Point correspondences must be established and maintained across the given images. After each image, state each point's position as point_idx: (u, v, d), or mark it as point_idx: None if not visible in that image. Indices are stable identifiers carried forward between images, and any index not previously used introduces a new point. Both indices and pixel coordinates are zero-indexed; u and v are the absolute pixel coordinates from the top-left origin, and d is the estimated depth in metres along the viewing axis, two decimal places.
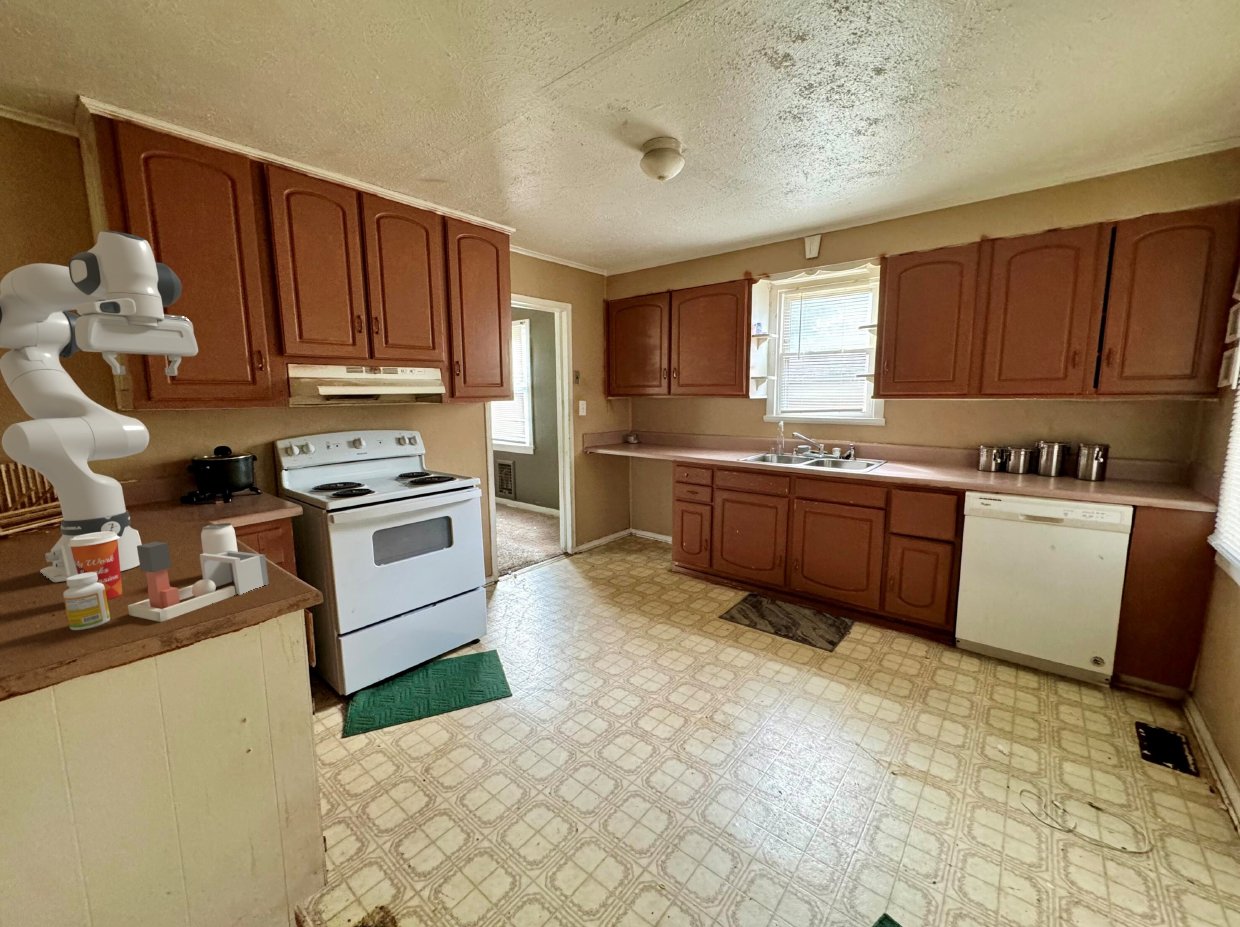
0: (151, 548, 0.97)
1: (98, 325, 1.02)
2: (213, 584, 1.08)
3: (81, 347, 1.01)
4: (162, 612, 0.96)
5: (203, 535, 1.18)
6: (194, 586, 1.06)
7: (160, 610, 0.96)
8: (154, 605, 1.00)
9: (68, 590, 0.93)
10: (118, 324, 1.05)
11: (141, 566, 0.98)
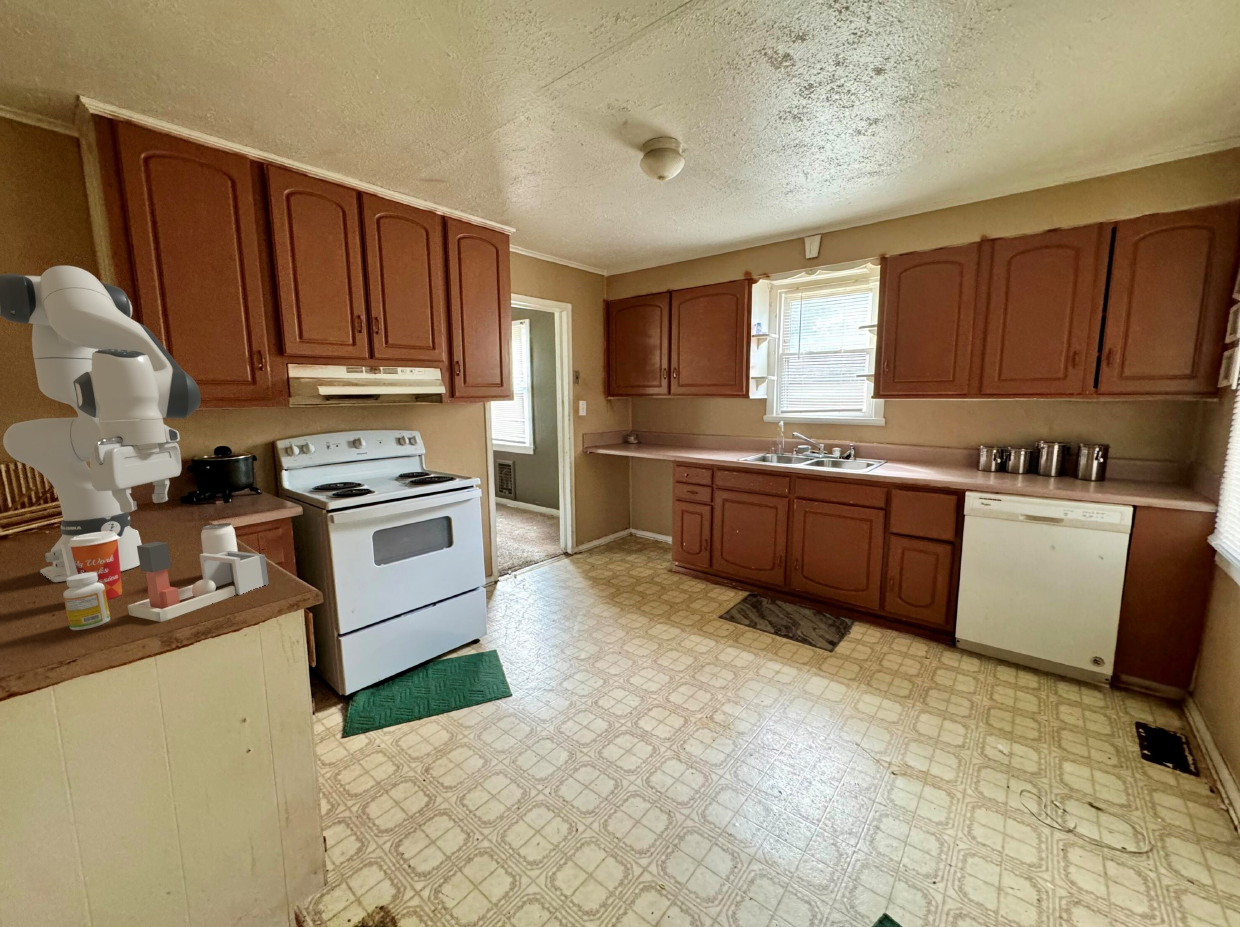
0: (151, 548, 0.97)
1: None
2: (213, 584, 1.08)
3: None
4: (162, 612, 0.96)
5: (203, 535, 1.18)
6: (194, 586, 1.06)
7: (160, 610, 0.96)
8: (154, 605, 1.00)
9: (68, 590, 0.93)
10: None
11: (141, 566, 0.98)
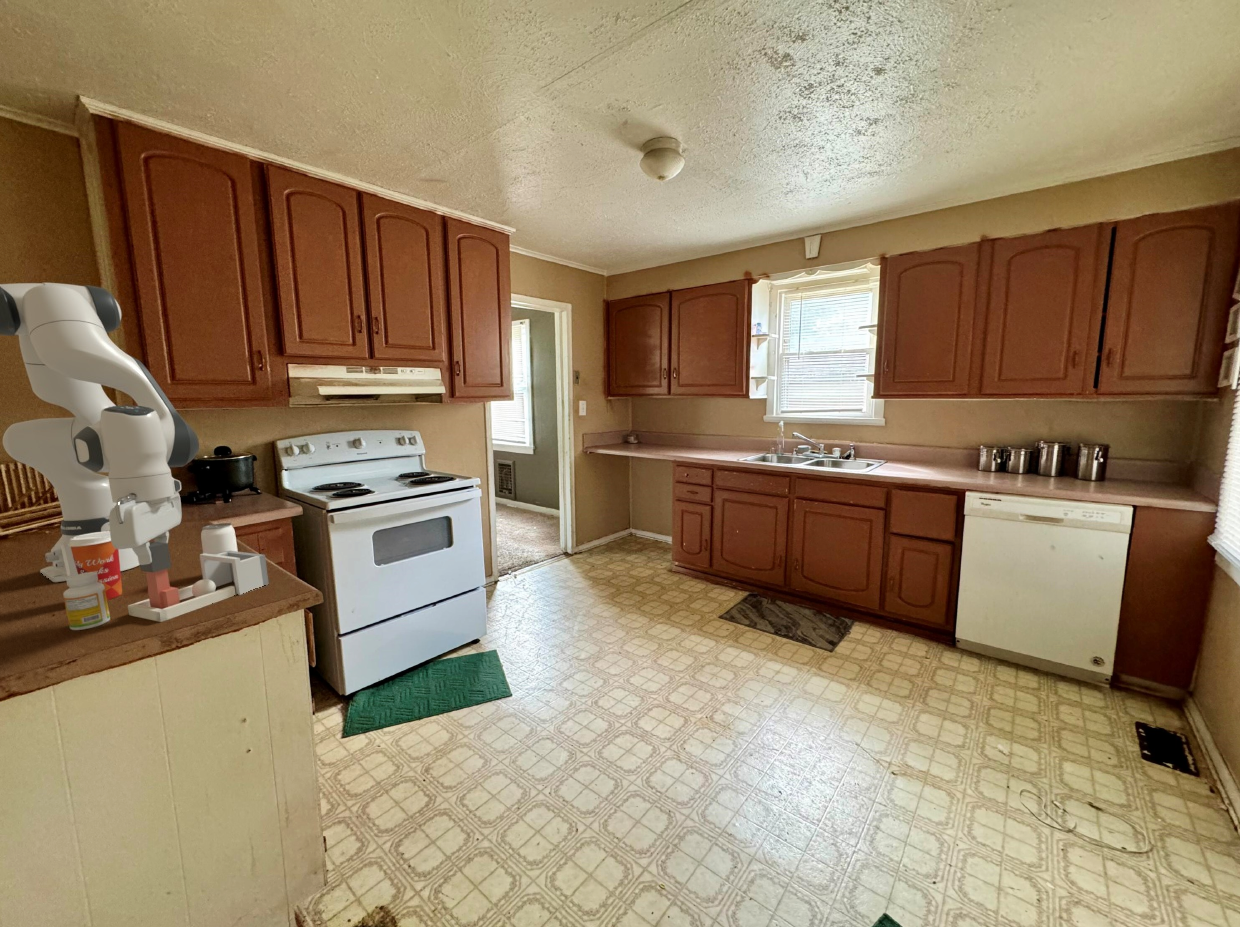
0: (151, 548, 0.97)
1: None
2: (213, 584, 1.08)
3: None
4: (162, 612, 0.96)
5: (203, 535, 1.18)
6: (194, 586, 1.06)
7: (160, 610, 0.96)
8: (154, 605, 1.00)
9: (68, 590, 0.93)
10: None
11: (141, 566, 0.98)
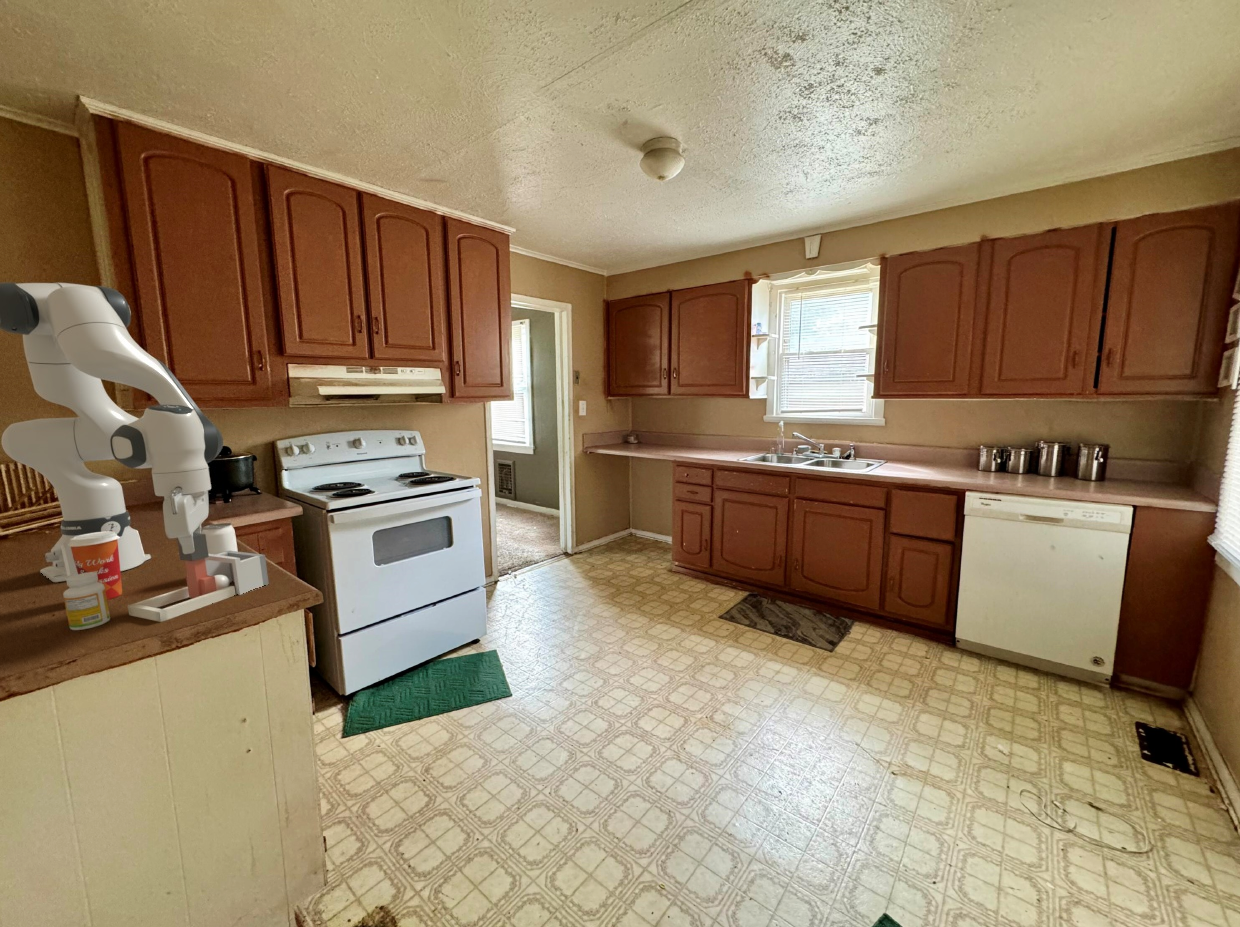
0: None
1: None
2: None
3: None
4: (162, 612, 0.96)
5: None
6: None
7: (160, 610, 0.96)
8: (193, 592, 1.06)
9: (68, 590, 0.93)
10: None
11: (181, 555, 1.05)
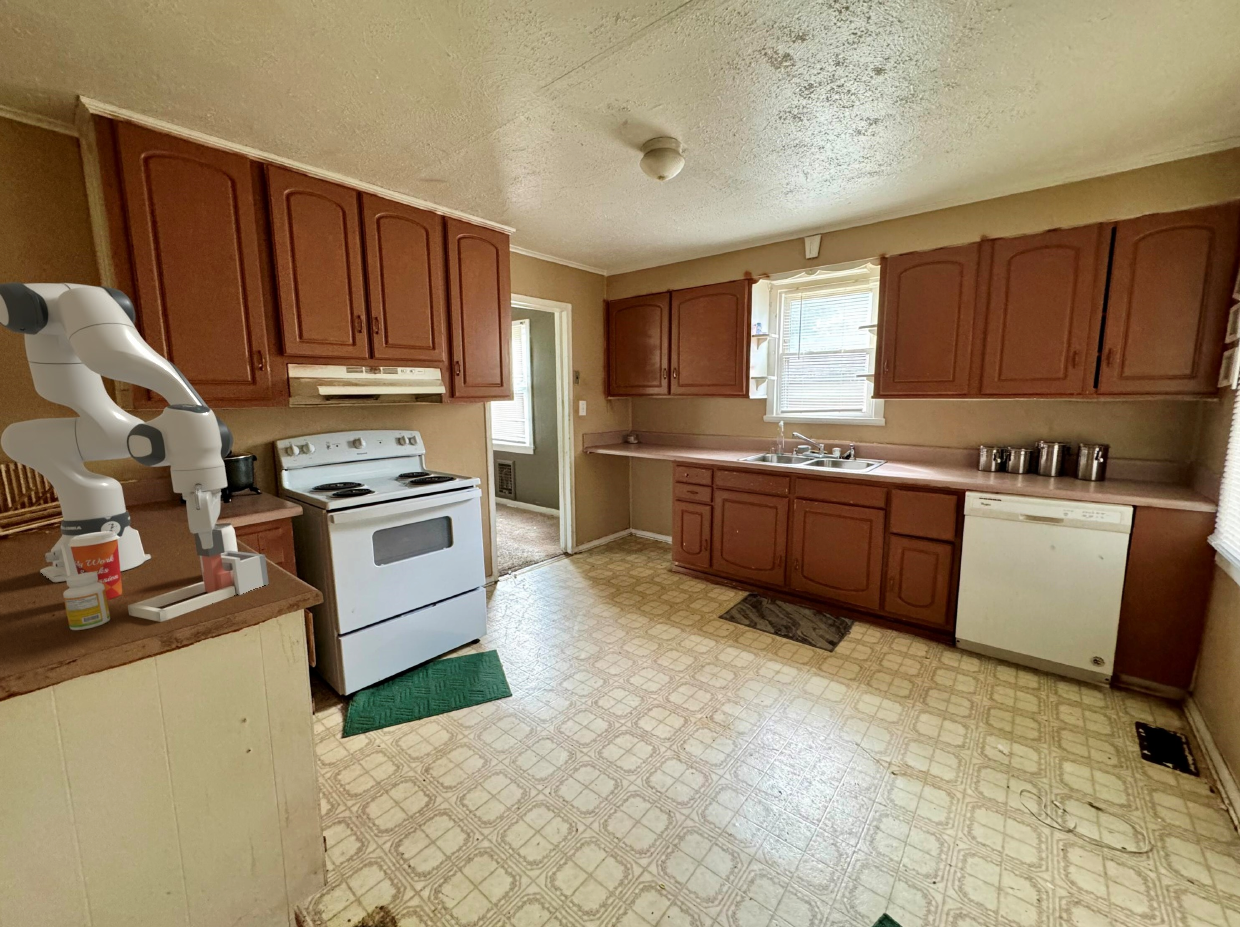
0: None
1: None
2: (234, 584, 1.12)
3: None
4: (162, 612, 0.96)
5: None
6: None
7: (160, 610, 0.96)
8: (209, 587, 1.09)
9: (68, 590, 0.93)
10: None
11: (198, 551, 1.07)
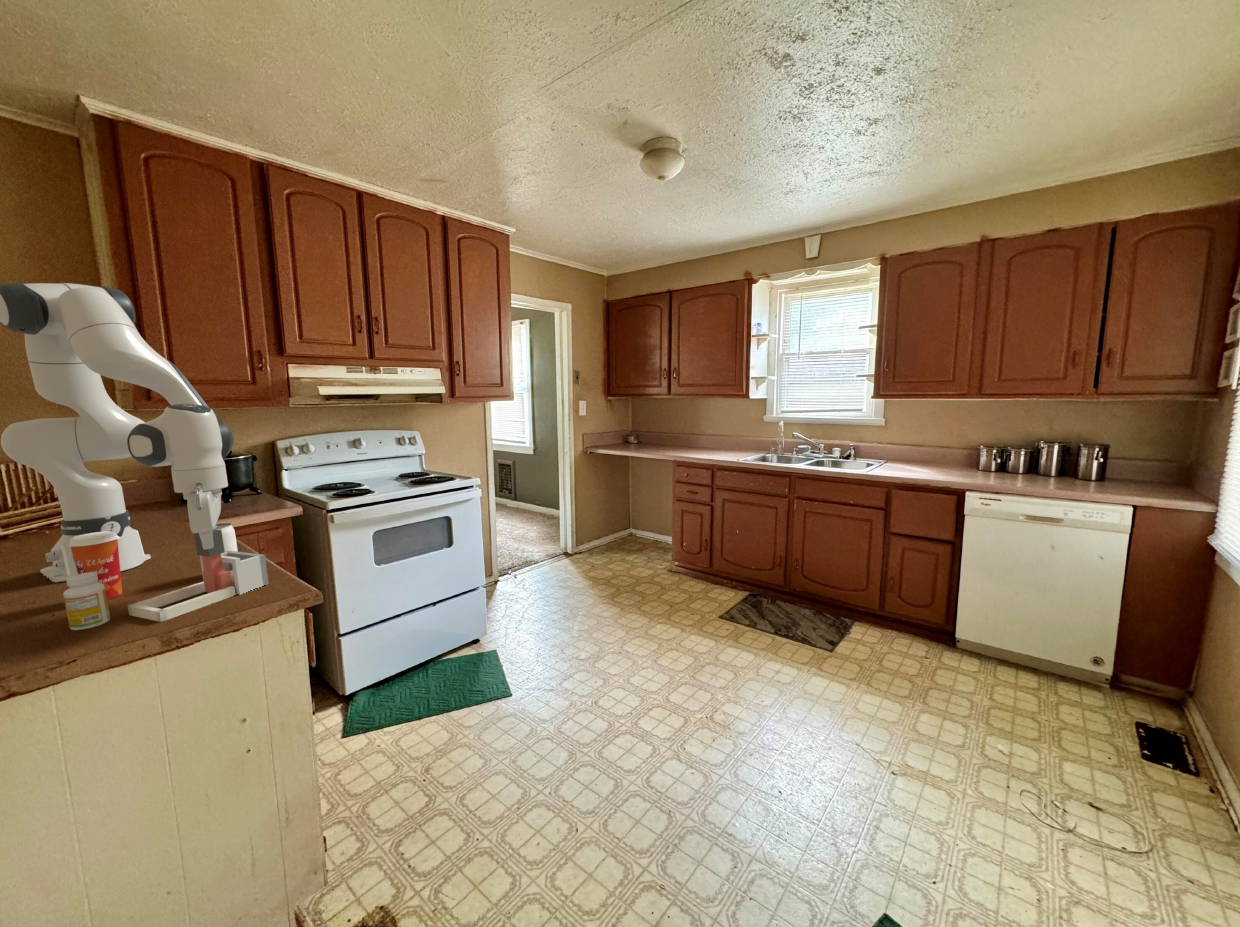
0: None
1: None
2: (234, 584, 1.12)
3: None
4: (162, 612, 0.96)
5: None
6: None
7: (160, 610, 0.96)
8: (209, 587, 1.09)
9: (68, 590, 0.93)
10: None
11: (198, 551, 1.07)
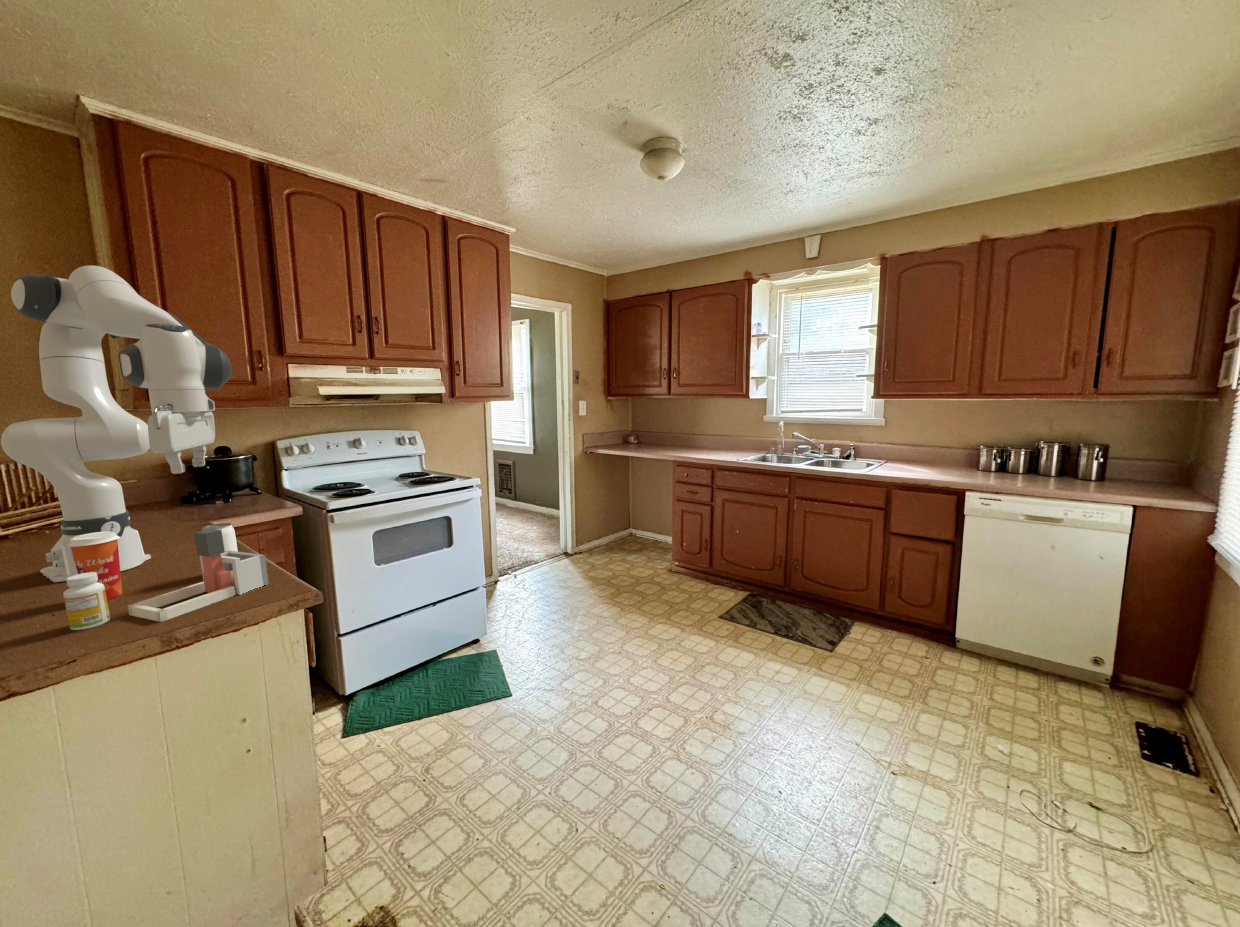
0: (208, 534, 1.06)
1: None
2: (234, 584, 1.12)
3: None
4: (162, 612, 0.96)
5: None
6: None
7: (160, 610, 0.96)
8: (209, 587, 1.09)
9: (68, 590, 0.93)
10: None
11: (198, 551, 1.07)
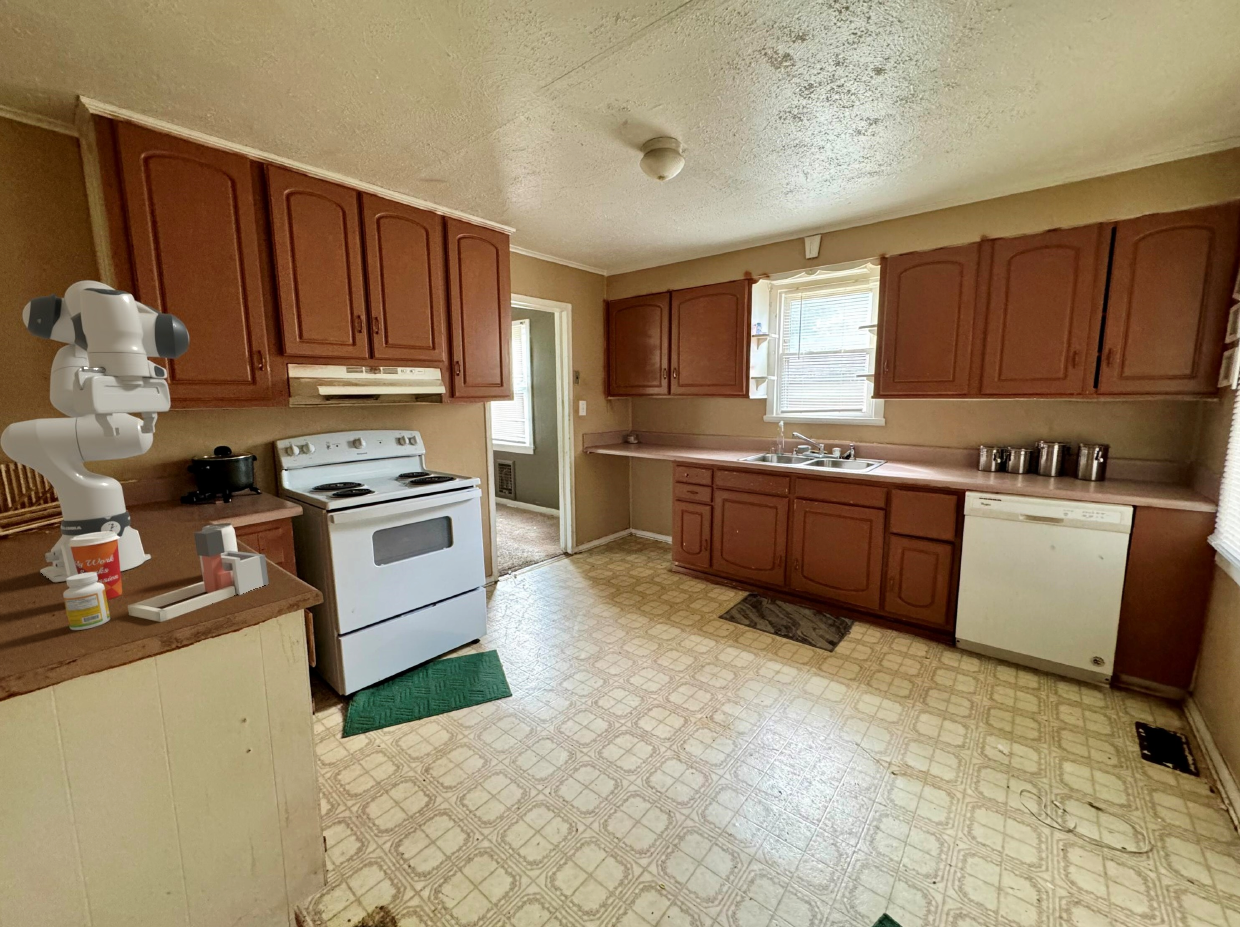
0: (208, 534, 1.06)
1: None
2: (234, 584, 1.11)
3: None
4: (162, 612, 0.96)
5: None
6: None
7: (160, 610, 0.96)
8: (209, 587, 1.09)
9: (68, 590, 0.93)
10: None
11: (198, 551, 1.07)
